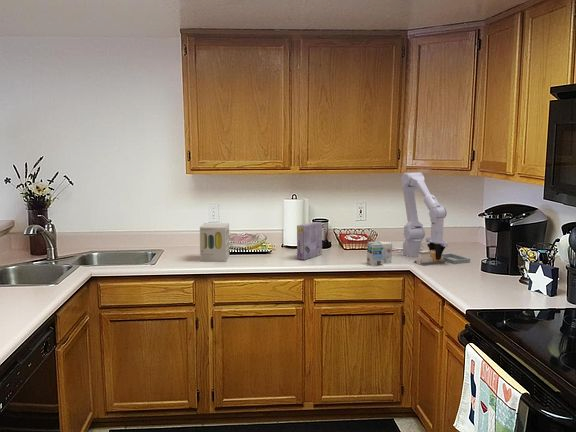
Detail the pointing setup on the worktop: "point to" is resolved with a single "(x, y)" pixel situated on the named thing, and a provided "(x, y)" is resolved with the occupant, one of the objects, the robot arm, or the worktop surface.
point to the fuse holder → (429, 262)
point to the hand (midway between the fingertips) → (435, 258)
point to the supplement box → (214, 242)
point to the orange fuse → (434, 255)
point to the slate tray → (460, 258)
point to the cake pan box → (309, 240)
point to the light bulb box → (379, 253)
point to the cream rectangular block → (424, 256)
